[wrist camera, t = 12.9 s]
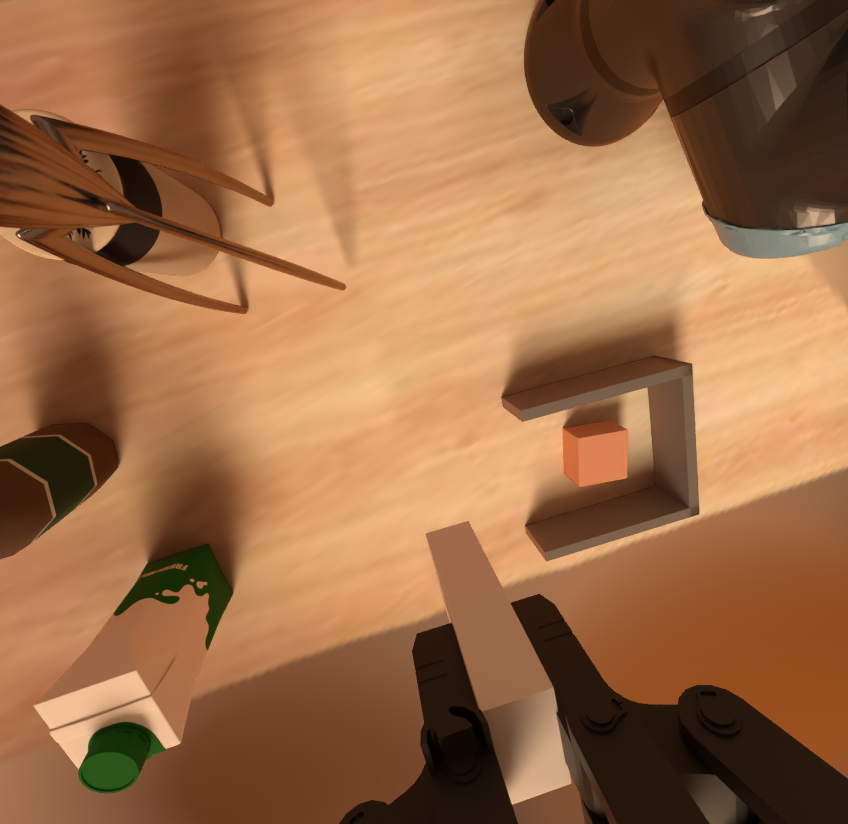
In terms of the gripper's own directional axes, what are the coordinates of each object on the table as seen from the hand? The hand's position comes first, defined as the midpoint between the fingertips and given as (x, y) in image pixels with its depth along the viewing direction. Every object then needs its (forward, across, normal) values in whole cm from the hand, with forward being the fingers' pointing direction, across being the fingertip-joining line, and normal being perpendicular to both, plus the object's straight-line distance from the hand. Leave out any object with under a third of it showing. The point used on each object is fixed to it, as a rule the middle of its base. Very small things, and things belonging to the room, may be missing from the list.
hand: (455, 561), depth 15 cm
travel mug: (+35, -15, +18) cm, 42 cm away
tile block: (+35, +22, -15) cm, 44 cm away
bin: (+34, +22, -15) cm, 44 cm away
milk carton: (+35, -27, -17) cm, 47 cm away
